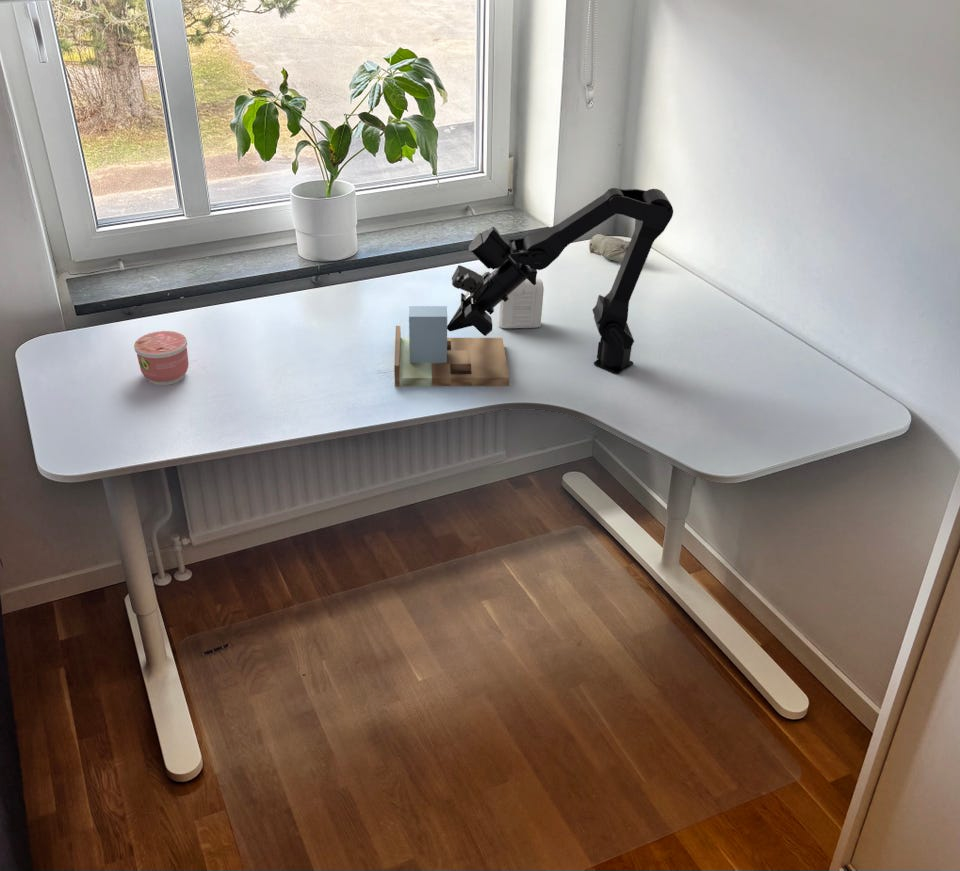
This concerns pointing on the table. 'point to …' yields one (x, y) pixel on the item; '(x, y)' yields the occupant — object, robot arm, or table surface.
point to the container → (162, 356)
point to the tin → (428, 334)
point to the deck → (454, 364)
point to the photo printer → (522, 306)
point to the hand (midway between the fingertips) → (448, 329)
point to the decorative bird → (609, 247)
